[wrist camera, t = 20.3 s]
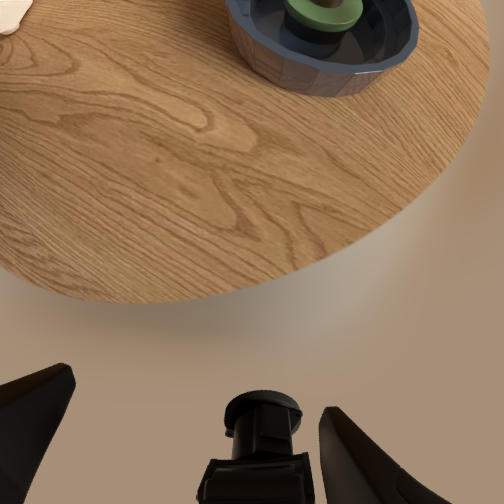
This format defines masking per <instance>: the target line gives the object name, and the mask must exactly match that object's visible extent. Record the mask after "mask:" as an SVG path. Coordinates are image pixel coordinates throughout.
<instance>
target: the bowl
mask: <svg viewBox="0 0 504 504" xmlns="http://www.w3.org/2000/svg"><path fill="white" fill-rule="evenodd" d="M361 1H362V4H363V11H362V14H361V16H360V17H359V19H358V20H357V22H356V23H355V24H354V25H353V26H352V27H351V28H349V29H348V31H347V32H346V34H345V35H344V37H343V38H342V39H340V40H339V41H337V42H335V43H332V44H314V43H310V42H307V41H304V40H302V39H300V38H299V37H297V36H296V35H294V34H293V33H292V32H291V31H290V30H289V29H288V27H287V26H286V24H285V21H284V12H285V6H284V0H224V2H225V6H226V11H227V15H228V20H229V25H230V30H231V34H232V37H233V39H234V42H235V44H236V47H237V49H238V52H239V53H240V55H241V56H242V57H243V58H244V59H245V60H246V61H247V62H248V64H249V65H250V66H251V67H252V68H253V69H254V70H255V71H256V72H257V73H259V74H261V75H262V76H264V77H266V78H267V79H269V80H270V81H272V82H273V83H275V84H276V85H279V86H280V87H283V88H286V89H289V90H292V91H295V92H298V93H301V94H304V95H312V96H322V97H340V96H345V95H351V94H357V93H359V92H361V91H363V90H365V89H367V88H369V87H370V86H372V85H374V84H376V83H377V82H378V81H380V80H381V79H382V78H384V77H385V76H386V75H387V74H389V73H390V72H391V71H393V70H394V69H395V68H397V67H398V66H399V65H401V64H402V63H403V62H405V61H406V59H407V58H408V57H409V55H410V54H411V53H412V51H413V50H414V49H415V47H416V45H417V41H418V33H419V23H418V19H417V15H416V12H415V9H414V6H413V4H412V2H411V1H410V0H361Z"/></svg>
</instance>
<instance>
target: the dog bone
mask: <svg viewBox="0 0 504 504" xmlns="http://www.w3.org/2000/svg"><path fill="white" fill-rule="evenodd" d="M32 3H33V0H0V33H1V34H3V35H8V34H11V33H13V32H15V31H16V30H17V29H18V28H19V26H20V24H19V22H20V21H21V19H22V17H23V16H24V14H25V13H26V11H27V10H28V9H29V8H30V7H31V5H32Z"/></svg>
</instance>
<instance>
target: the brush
mask: <svg viewBox="0 0 504 504" xmlns="http://www.w3.org/2000/svg"><path fill="white" fill-rule="evenodd" d="M284 6H285V12H284V21H285V24H286V26H287V27H288V29H289V30H290V31H291V32H292V33H293V34H294V35H296V36H297V37H299V38H300V39H302V40H304V41H307V42H310V43H314V44H332V43H335V42H337V41H339V40H340V39H342V38H343V37H344V35H345V34H346V32H347V31H348V29H349V28H351V27H352V26H353V25H354V24H355V23H356V22H357V20H358V19H359V17H360V16H361V14H362V11H363V4H362V1H361V0H284Z"/></svg>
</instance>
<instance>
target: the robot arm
mask: <svg viewBox="0 0 504 504" xmlns="http://www.w3.org/2000/svg"><path fill="white" fill-rule="evenodd" d="M75 387H76V382H75V378H74V375H73V372H72V369H71V367H70V366H69V365H67V364H64V363H58V364H56V365H53V366H51V367H48V368H45V369H43V370H40V371H38V372H35V373H32V374H30V375H27V376H24V377H22V378H19V379H17V380H14V381H11V382H8V383H6V384H3V385H0V504H23V503H24V501H25V498H26V496H27V493H28V490H29V488H30V486H31V483H32V481H33V478H34V476H35V474H36V472H37V469H38V467H39V465H40V463H41V461H42V459H43V456H44V454H45V452H46V450H47V448H48V446H49V444H50V442H51V440H52V438H53V436H54V434H55V432H56V430H57V428H58V426H59V425H60V423H61V421H62V418H63V416H64V414H65V412H66V409H67V406H68V404H69V402H70V399H71V397H72V394H73V392H74V390H75ZM245 403H246V404H245ZM302 416H303V412H302V411H301V410H299V409H293V408H288V407H283V406H278V405H273V404H268V403H264V402H259V401H255V400H251V399H246V398H244V399H241V401H240V403H239V405H238V407H237V409H236V411H235V413H234V415H233V417H232V419H231V421H230V423H229V425H228V427H227V429H226V432H225V435H226V436H227V437H230V438H234V439H233V449H232V458H231V460H217V459H211V460H210V463H209V465H208V466H207V469H206V471H205V474H204V476H203V478H202V481H201V483H200V486H199V489H198V494H197V495H196V500H197V501H198V502H199V504H315V494H314V486H313V479H312V473H311V466H310V461H309V455H308V452H304V453H302V454H296V455H293V447H292V436H291V432H292V430H293V429H294V427H295V426H296V425H297V423H298V422H299V420H300V419H301V418H302ZM319 443H320V463H321V470H322V476H323V482H324V487H325V493H326V499H327V504H451V503H450V502H448V501H447V500H445V499H443V498H442V497H440V496H438V495H437V494H436V493H434V492H432V491H431V490H429V489H428V488H426V487H425V486H424V485H422V484H421V483H419V482H418V481H417V480H416V479H414V478H413V477H412V476H411V475H410V474H408V473H407V472H406V471H405V470H404V469H403V468H400V465H398V464H397V463H396V462H395V461H394V460H393V459H392V458H391V457H390V456H389V455H387V454H386V453H385V452H384V451H383V450H382V449H381V448H380V447H379V446H378V445H377V444H376V443H374V441H373V440H372V439H371V438H370V437H368V436H367V435H366V434H365V433H364V432H363V431H362V430H361V429H360V428H359V427H358V426H357V425H356V424H355V423H354V422H353V421H352V420H351V419H350V418H349V417H348V416H347V415H346V414H345V413H344V412H343V411H342V410H341V409H340V408H339V407H336V406H335V407H326V408H325V409H324V412H323V414H322V417H321V419H320V422H319Z"/></svg>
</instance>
